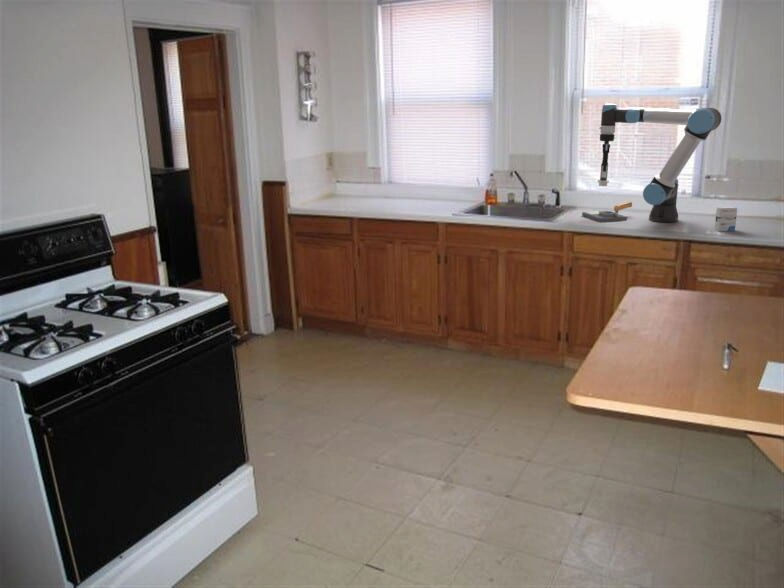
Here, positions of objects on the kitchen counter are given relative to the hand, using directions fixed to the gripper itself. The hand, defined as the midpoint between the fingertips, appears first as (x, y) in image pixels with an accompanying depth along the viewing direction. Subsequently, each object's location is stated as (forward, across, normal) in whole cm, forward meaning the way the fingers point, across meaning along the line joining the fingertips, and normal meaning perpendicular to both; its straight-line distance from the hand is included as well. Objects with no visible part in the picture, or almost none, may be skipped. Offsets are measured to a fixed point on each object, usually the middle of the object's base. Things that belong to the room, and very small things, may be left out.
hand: (603, 176), depth 391 cm
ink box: (+22, +24, +60) cm, 69 cm away
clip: (+17, -1, +12) cm, 21 cm away
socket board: (+23, 0, +2) cm, 23 cm away
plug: (+5, 0, 0) cm, 5 cm away
